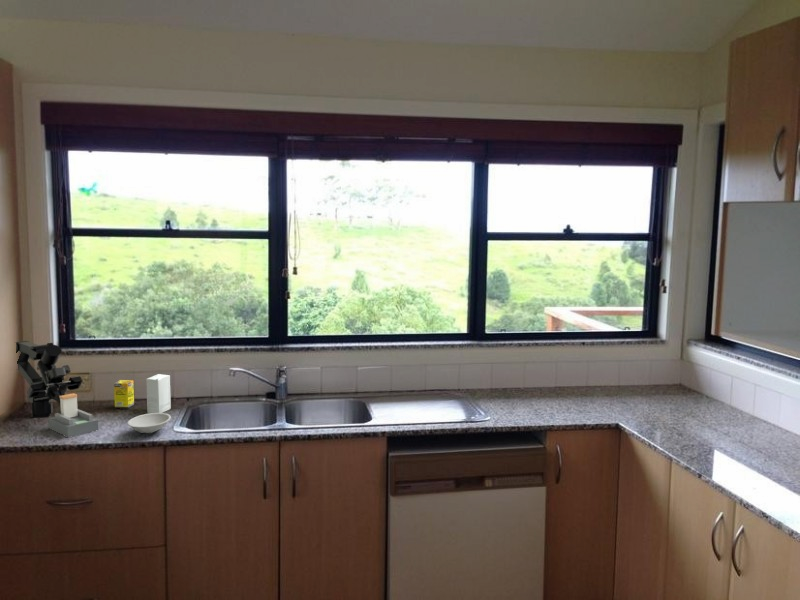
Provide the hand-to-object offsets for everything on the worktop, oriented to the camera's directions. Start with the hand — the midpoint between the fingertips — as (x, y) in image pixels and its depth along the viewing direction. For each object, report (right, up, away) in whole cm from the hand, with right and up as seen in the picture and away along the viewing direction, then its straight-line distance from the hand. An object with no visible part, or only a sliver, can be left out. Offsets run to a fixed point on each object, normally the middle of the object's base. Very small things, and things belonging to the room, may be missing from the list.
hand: (63, 404), depth 244 cm
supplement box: (+12, -6, +26) cm, 30 cm away
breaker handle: (+4, -4, -3) cm, 6 cm away
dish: (+36, -10, -7) cm, 38 cm away
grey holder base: (+6, -9, -4) cm, 12 cm away
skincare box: (+29, -6, +20) cm, 36 cm away
